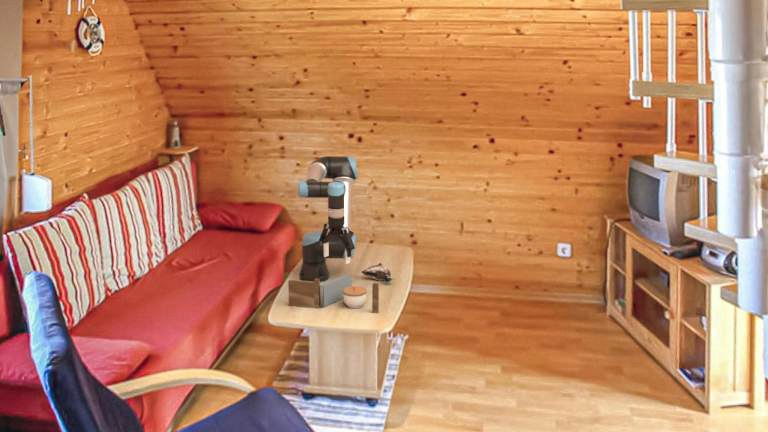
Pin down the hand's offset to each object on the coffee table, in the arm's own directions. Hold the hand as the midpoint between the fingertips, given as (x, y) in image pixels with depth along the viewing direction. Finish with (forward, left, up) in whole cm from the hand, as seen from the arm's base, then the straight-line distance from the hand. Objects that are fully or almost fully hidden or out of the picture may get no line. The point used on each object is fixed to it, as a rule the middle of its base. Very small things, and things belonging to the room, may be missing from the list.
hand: (336, 259), depth 329 cm
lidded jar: (+11, +11, -18) cm, 24 cm away
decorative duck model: (-23, +15, -18) cm, 33 cm away
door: (+7, +1, -18) cm, 19 cm away
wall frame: (+16, +2, -18) cm, 24 cm away
